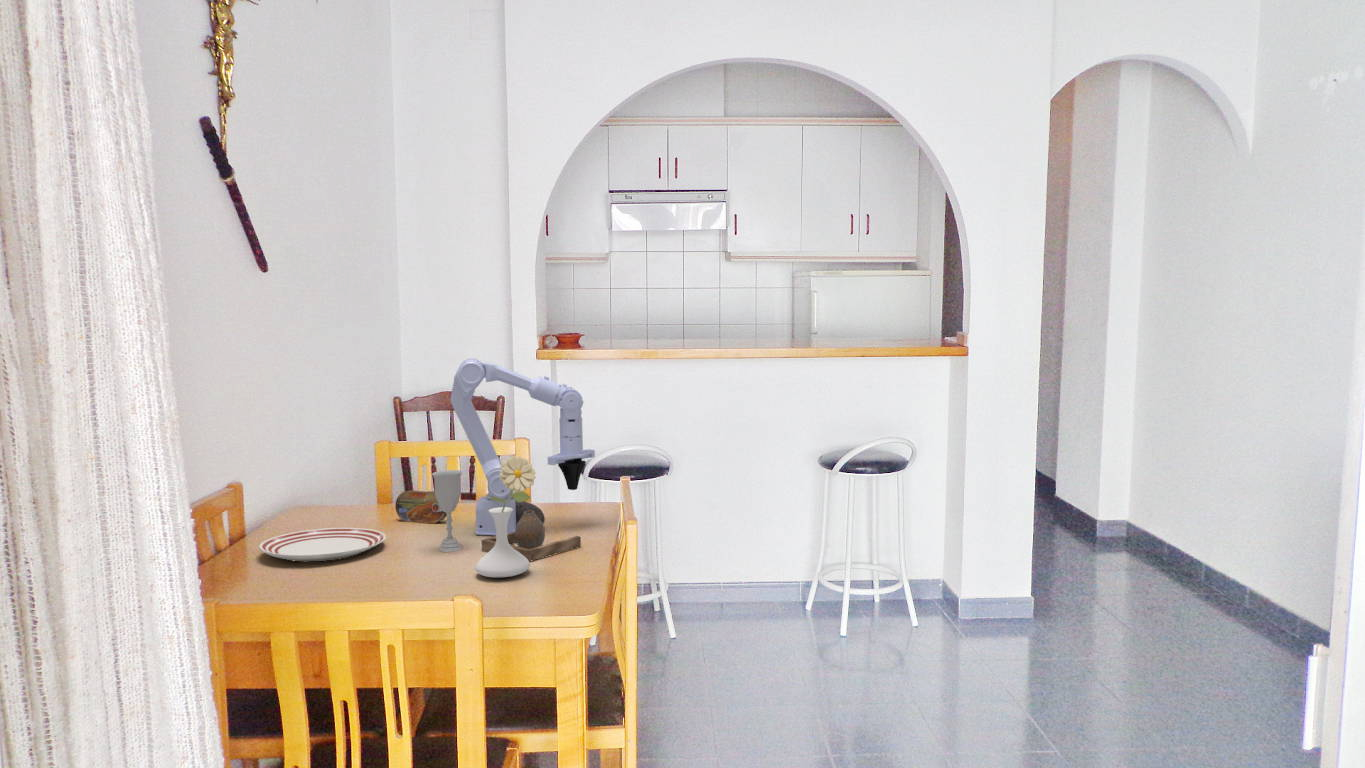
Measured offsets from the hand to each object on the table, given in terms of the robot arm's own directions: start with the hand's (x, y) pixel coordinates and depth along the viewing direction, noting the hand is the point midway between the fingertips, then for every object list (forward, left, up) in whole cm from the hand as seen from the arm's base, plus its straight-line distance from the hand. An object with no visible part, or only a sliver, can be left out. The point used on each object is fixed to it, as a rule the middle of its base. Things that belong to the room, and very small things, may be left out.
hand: (572, 489), depth 232 cm
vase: (-2, -21, -10) cm, 24 cm away
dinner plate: (-49, -33, -10) cm, 60 cm away
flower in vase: (+1, -41, -10) cm, 42 cm away
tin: (-42, -1, -10) cm, 43 cm away
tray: (-2, -21, -10) cm, 23 cm away
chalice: (-21, -25, -10) cm, 34 cm away
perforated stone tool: (-14, -2, -10) cm, 17 cm away
